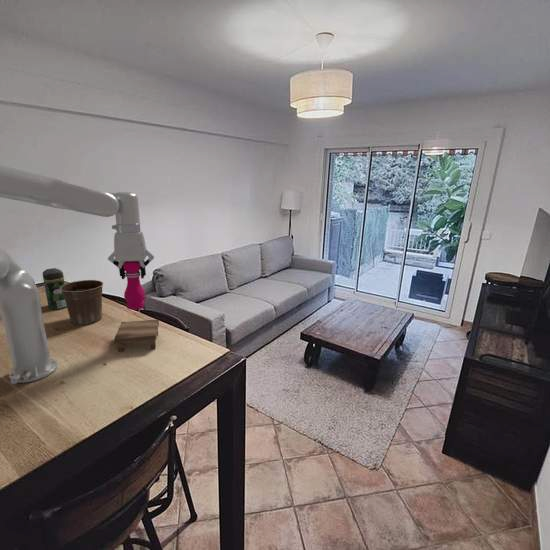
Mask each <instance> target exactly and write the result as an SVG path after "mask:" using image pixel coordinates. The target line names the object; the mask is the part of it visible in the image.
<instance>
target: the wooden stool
mask: <svg viewBox="0 0 550 550" xmlns="http://www.w3.org/2000/svg"><path fill="white" fill-rule="evenodd" d="M159 321H160V320H159V319H151V320H150V319H148V320H135V321H134V320H133V321H121V323H120V325H119V327H118V330H117V332H116V333H115V336H114V339H113V341H114V344H116V350H117V353H125V344H126V343H137V342H148V344H149V345H148V346H149V350H150V351H151V350H152V351H153V350H156V349H155V348H157V345H156V343H157V342H156V340H157V337H158V336H159V326H160V322H159ZM157 335H158V336H157Z"/></svg>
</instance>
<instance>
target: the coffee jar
mask: <svg viewBox="0 0 550 550" xmlns="http://www.w3.org/2000/svg"><path fill="white" fill-rule="evenodd" d="M42 279H43V286H44V290H45V296H46V302H47V306H48V307H49V309H50V310H62V309H64V308H67V305H66V302H65V298H64V297H63V294H62V291H61V290H60V287H61V286H62V285H64V284H66V283H65V276H64V272H63V271H62V270H61V269H58V268H55V267H54V268H47V269H45V270H44V271H42Z"/></svg>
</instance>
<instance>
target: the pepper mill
mask: <svg viewBox="0 0 550 550" xmlns="http://www.w3.org/2000/svg"><path fill="white" fill-rule="evenodd" d="M140 268H141V264H140V262H139V261H129V262H124V263H123V269H124V270H125V278H126V281H127V283H126V287H125V290H124V294H123V297H124V301H126V309H128V310H131V311H132V310H133V311H134V310H140V309H143V308H144V307H146V303H145V298H146V291H145V290H144V288H143V286H142V284H141V281H140V277H141V271H140Z"/></svg>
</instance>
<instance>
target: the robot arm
mask: <svg viewBox="0 0 550 550" xmlns="http://www.w3.org/2000/svg"><path fill="white" fill-rule="evenodd" d="M0 198H2V199H9V200H14V201H19V202H20V201H21V202H25V203H30V204H35V205H39V206H45V207H50V208H53V209H61V210H66V211H67V210H68V211H74V212H77V213H78V212H79V213H83V214H87V215H94V216H98V217H103V218H109V217H113V216H115V224H113V225H111V229H112V230H115V231H116V232H115V233H114V236H113V238H114V239H113V252H112V253H111V254H110V255H109V256H108V257H107V260H108V261H109V262H110V263H112V264H113V265H114V266H115V267H117V268H118V272H119V277H121V280H125V278H126V276H125V275H126V274H125V273H126V271H125V270H124V269H123V263H124V262H129V261H139V262H140V264H141V268H140V270H139V271H140V279H145V276H146V274H147V272H146V267H147V266H148V265H149V264H150V263H151V262H152V261H154V259H155V256H154V255H153V254H152V253H151V252H150V251H148V249H147V246H146V241H145V235H144V233H143V231H141V219H140V209H139V208H140V207H139V198H138V195H137V194H136V193H135V192H131V191H130V192H127V191H121V192H120V191H119V192H109V191H108V192H107V191H102V190H101V191H100V190H97V189H94V188H93V189H92V188H88V187H84V186H80V185H77V184H73V183H68V182H67V181H63V180H62V179H58V178H54V177H50V176H47V175H41V174H38V173H34V172H29V171H25V170H20V169H17V168H13V167H9V166H4V165H1V164H0ZM147 257H148V258H147ZM146 258H147V259H146ZM40 297H41V296H40V293H39V290H38V286H37V284H36V282H35V280H34V278H33V276H31V274H30V273H28V272H27V271H26V270H25V269H24V268H23V267H22V266H21V265H20V264H19V263H18V262H17V261H16V259H14V258H13V257H12V256H11V255H10V254H8V253H7V252H6V250H4V249H2V248H1V247H0V315H1V318H2V321H3V327H4V331H5V335H6V339H7V344H8V349H9V352H10V353H9V354H10V357H11V361H12V362H11V363H12V366H13V368H12V369H11V371H9V374H8V378H9V381H10V384H12V385H16V384H17V383H19V384H20V383H21V384H22V383H24V384H25V383H30V382H36V381H39V380H41V379H43V378H46V377H47V376H50V375H51V374H53V373H54V372H55V371H56V370H57V368H58V363H57V360H55V359H54V358H51V355H50V349H49V344H48V338H47V333H46V329H45V328H46V327H45V323H44V318H43V312H42V305H41V299H40Z"/></svg>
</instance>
